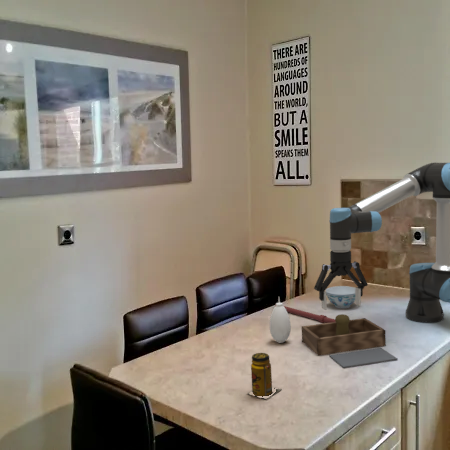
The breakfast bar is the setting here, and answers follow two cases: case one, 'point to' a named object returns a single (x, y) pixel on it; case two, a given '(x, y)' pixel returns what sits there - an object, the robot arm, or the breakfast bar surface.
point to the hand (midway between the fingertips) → (341, 307)
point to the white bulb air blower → (280, 323)
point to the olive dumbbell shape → (342, 324)
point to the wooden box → (343, 337)
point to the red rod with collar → (310, 315)
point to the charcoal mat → (362, 357)
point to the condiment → (261, 375)
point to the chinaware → (341, 296)
